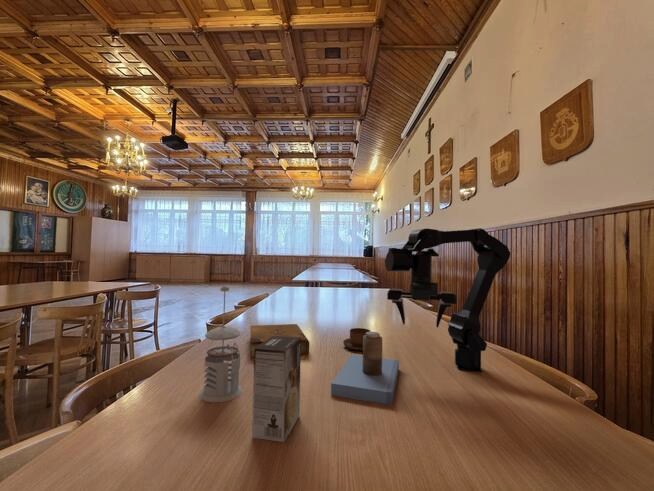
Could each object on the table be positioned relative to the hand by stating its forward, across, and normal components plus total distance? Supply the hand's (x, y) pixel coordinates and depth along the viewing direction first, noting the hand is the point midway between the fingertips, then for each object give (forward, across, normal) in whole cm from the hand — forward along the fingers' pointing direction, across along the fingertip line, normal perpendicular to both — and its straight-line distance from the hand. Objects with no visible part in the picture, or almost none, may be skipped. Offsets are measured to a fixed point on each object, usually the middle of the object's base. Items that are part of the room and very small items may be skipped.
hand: (420, 325), depth 87 cm
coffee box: (+13, -26, -39) cm, 49 cm away
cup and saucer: (+13, -21, +16) cm, 29 cm away
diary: (+14, -48, +6) cm, 51 cm away
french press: (+13, -44, -31) cm, 55 cm away
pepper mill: (+10, -12, -13) cm, 20 cm away
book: (+13, -13, -12) cm, 22 cm away
